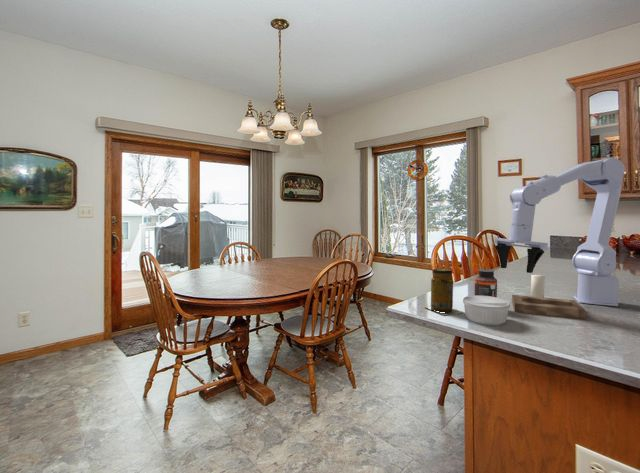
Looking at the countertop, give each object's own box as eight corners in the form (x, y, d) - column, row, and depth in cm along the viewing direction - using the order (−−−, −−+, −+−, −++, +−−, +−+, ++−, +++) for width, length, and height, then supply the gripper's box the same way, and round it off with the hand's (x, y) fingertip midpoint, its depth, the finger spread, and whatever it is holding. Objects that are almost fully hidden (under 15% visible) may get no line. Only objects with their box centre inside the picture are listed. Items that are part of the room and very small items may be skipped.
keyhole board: (574, 308, 96) (574, 300, 96) (584, 319, 86) (585, 310, 86) (511, 302, 103) (511, 294, 103) (514, 311, 93) (514, 303, 93)
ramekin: (488, 329, 79) (489, 308, 79) (453, 316, 90) (453, 297, 89) (519, 323, 84) (520, 303, 84) (482, 311, 94) (483, 293, 94)
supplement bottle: (499, 311, 94) (500, 272, 93) (477, 310, 95) (478, 271, 94) (492, 305, 100) (493, 268, 99) (471, 304, 101) (472, 268, 100)
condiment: (443, 305, 100) (443, 266, 100) (464, 313, 93) (464, 271, 92) (423, 308, 98) (424, 268, 97) (443, 316, 90) (443, 273, 89)
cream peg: (542, 299, 106) (543, 275, 105) (544, 302, 103) (545, 277, 102) (529, 298, 107) (530, 274, 107) (531, 301, 104) (532, 276, 104)
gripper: (490, 223, 103) (485, 266, 103) (541, 226, 90) (535, 275, 91) (503, 224, 106) (498, 266, 107) (553, 228, 94) (547, 274, 95)
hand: (516, 270), depth 99 cm, fingers open, 7 cm apart
